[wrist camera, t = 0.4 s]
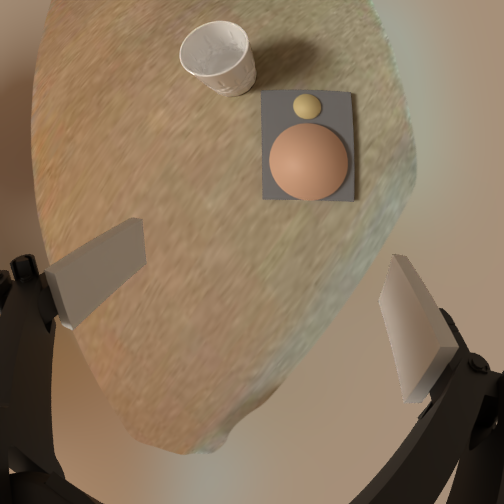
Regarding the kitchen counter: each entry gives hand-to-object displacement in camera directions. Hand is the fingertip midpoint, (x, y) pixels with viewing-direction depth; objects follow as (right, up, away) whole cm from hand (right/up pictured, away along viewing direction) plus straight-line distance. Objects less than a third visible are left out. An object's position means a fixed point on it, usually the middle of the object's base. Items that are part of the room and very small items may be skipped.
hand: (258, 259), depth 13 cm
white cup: (-3, +25, +19) cm, 32 cm away
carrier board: (+7, +15, +20) cm, 26 cm away
